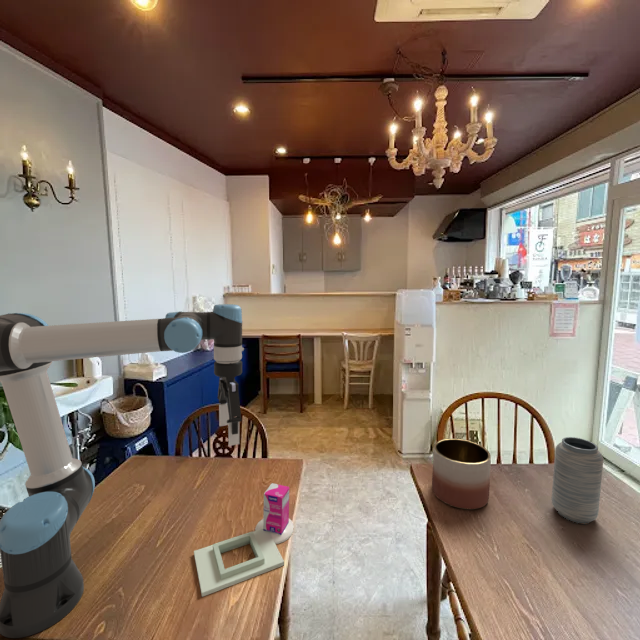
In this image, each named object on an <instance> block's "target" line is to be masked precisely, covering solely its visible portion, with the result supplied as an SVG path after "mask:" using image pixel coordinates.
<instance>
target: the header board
mask: <svg viewBox="0 0 640 640" xmlns="http://www.w3.org/2000/svg"><path fill="white" fill-rule="evenodd" d="M247 545H250V548H251V550H252V552H253V554H254V556H255V557H254V558H251V559H249V560H246V561H244V562H240V563H239V564H236V565H233V566H229V567H227V568H225V565H224V561H223V558H222V554H223V553H227V552H229V551H232V550H235V549H237V548H242V547H243V546H247ZM193 556H194V561H195V562H194V563H195V567H196V572H197V573H196V574H197V577H198V583H199V588H200V593H201V597H203V598H204V597H205V596H209V595H210V594H214V593H216V592H219V591H222V590H224V589H227V588H229V587H231V586H235V585H237V584H239V583H241V582H244V581H247V580H249V579H252V578H254V577H255V578H256V577H257V576H260V575H262V574H265V573H268V572H270V571H272V570H275V569H278V568H280V567H283V566H285V560H284V558H283V556H282V554H281V553H280V550H279V549H278V547H277V544H275V542H274V540H273V538H272V536H271V534H270V532H269V531H264V530H263V528H262V529H259V530H256V531H255V530H252V531H250V532H249V531H248V532H247V533H243V534H240V535H236V536H234V537H231V538H228V539H225V540H222V541H219V542H216V543H213V544H212V545H208V546H205V547H202V548H199V549H195V550H193Z"/></svg>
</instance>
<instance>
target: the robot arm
mask: <svg viewBox="0 0 640 640" xmlns="http://www.w3.org/2000/svg"><path fill="white" fill-rule="evenodd" d="M242 313H243V312H242V307H241V306H240V305H239V304H233V303H232V304H231V303H230V304H226V303H223V304H220V303H219V304H218V303H217V304H215V305H214V306H213V309H212V311H205V312H204V311H203V312H202V311H200V312H199V311H175V312H174V311H170V312H167V313H166V314H165V317H164V318H152V319H151V318H150V319H149V318H148V319H135V320H134V319H133V320H118V321H103V322H86V323H84V322H83V323H71V324H56V325H55V324H54V325H49V324H48V323H47V322H46V321H45V320H43V319H42V318H40V317H39V316H37V315H34V314H32V313H23V312H22V313H21V312H15V313H14V312H13V313H10V312H9V313H5V314H1V315H0V383H1V386H2V389H3V391H4V395H5V399H6V401H7V404H8V408H9V410H10V414H11V416H12V420H13V423H14V426H15V429H16V432H17V435H18V438H19V442H20V444H21V448H22V450H23V454H24V457H25V460H26V463H27V466H28V469H29V473H30V475H29V477H28V478H27V480H26V481H25V484H24V485H25V489H26V491H27V495H28V496H27V497H25V498H24V499H23V501H18V502H16V503H15V504H14V505H12V506H11V507H10V508H9V509H8V510H7V511H6V512H5V513H4V514H3V515H2V517H1V519H0V561H1V568H2V569H1V570H2V575H3V576H2V577H3V583H4V589H3V592H2V596H1V599H0V635H1V636H3V637H4V638H8V639H21V638H27V637H30V636H33V635H36V634H39V633H40V632H42V631H45V630H47V629H49V628H50V627H52V626H54V625H55V624H57V623H58V622H59V621H61V620H62V619H64V618H65V617H66V616H67V615H68V614H69V613H70V612H71V611H73V610H74V608H75V607H76V606H77V605H78V603H79V601H80V600H81V598H82V597H83V594H84V589H85V586H84V585H85V584H84V577H83V574H82V573H81V571H80V569H79V568H78V566H77V564H76V563H75V561H74V560H73V558H72V548H71V533H72V531H73V530H74V528H75V526H76V524H77V523H78V521H79V519H80V518H81V517H82V515H83V513H84V512H85V510H86V508H87V507H88V505H89V504H90V502H91V500H92V498H93V495H94V494H93V493H94V491H95V488H96V486H95V485H96V484H95V483H96V481H95V477H94V475H93V473H92V471H91V470H90V469H88V468H85V467H84V466H83V463H82V461H81V460H80V459H78V458H73V455H72V452H71V449H70V445H69V442H68V438H67V435H66V432H65V428H64V425H63V421H62V418H61V414H60V412H59V408H58V405H57V402H56V401H57V400H56V397H55V394H54V392H53V391H54V390H53V388H52V385H51V381H50V378H49V374H48V369H49V368H50V366H51V365H52V363H53V362H59V361H70V360H80V359H81V360H82V359H90V358H91V359H92V358H101V357H114V356H125V355H126V356H127V355H134V354H135V355H137V354H146V353H147V354H149V353H157V352H159V353H160V352H176V353H181V354H184V353H185V354H186V353H189V352H192V351H193V350H195V349H196V348H197V346H198V345H200V343H201V341H209V340H210V341H211V340H212V341H213V360H214V363H213V365H214V366H213V374H214V375H215V376H216V377H217V378H218V377H219V378H218V379H219V380H218V389H217V390H218V391H217V400H218V421H219V423H218V425H219V427H224V426H228V427H227V428H228V429H227V430H228V446H229V447H230V446H236V445H237V446H238V445H240V422H242V420H243V419H242V413H241V412H242V411H241V403H240V394H239V393H240V392H239V385H240V384H239V383H238V381H236V377H238V376H241V375H242V373H243V360H242V358H243V354H242V353H243V352H244V350H245V348H244V347H243V314H242Z"/></svg>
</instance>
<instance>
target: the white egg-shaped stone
mask: <svg viewBox="0 0 640 640" xmlns="http://www.w3.org/2000/svg"><path fill="white" fill-rule="evenodd" d="M262 528H263V518H262V519H260V520H259V521H258V522H257V524H256V525H255V527H254V531H256V530H259V529H262ZM293 528H294V530H295V527H294V522H293V520H291V518H289V523H288V524H287V526H286V528H285V530H284V531H283V533H282V535H280V534H276V533H273V532H270V534H271V536H272V538H273V540H274V542H275V544H276V545H278V544H282V543H285V542H286V541H287V540H289V539H290V538H291V537H292V535H293V534H292V533H294V532H295V531H294V530H293Z"/></svg>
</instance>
